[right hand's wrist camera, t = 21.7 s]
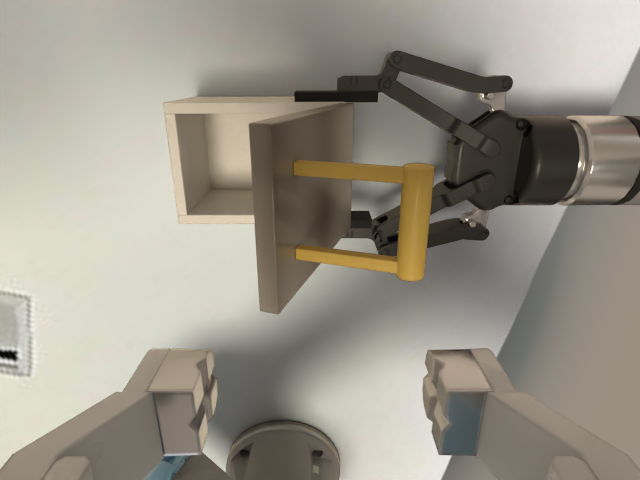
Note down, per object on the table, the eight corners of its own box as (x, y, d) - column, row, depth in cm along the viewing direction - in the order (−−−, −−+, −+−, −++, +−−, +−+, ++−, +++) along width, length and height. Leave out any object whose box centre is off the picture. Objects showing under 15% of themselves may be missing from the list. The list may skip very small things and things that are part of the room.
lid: (259, 311, 23) (413, 340, 20) (247, 122, 19) (433, 129, 17) (337, 225, 36) (438, 236, 33) (339, 102, 32) (452, 105, 30)
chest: (205, 195, 45) (178, 224, 36) (195, 96, 41) (162, 102, 33) (339, 194, 45) (343, 223, 36) (340, 96, 41) (346, 102, 33)
